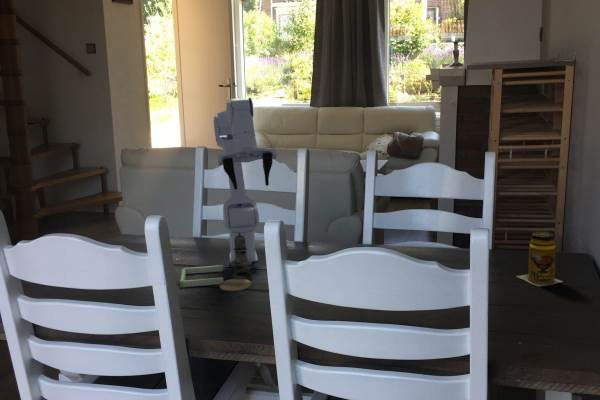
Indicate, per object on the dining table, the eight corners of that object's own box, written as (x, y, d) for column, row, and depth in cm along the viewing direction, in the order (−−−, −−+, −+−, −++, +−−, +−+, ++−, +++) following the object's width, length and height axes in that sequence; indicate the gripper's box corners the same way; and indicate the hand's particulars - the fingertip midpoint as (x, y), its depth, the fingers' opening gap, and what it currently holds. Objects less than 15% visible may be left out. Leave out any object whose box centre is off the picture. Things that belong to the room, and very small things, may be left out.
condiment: (539, 287, 146) (541, 239, 143) (515, 277, 154) (517, 231, 151) (563, 282, 148) (565, 235, 146) (538, 272, 156) (540, 227, 154)
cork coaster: (219, 281, 159) (219, 280, 159) (250, 279, 160) (250, 277, 160) (219, 292, 151) (219, 290, 151) (251, 289, 152) (251, 287, 152)
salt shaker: (249, 279, 160) (246, 235, 158) (228, 278, 161) (225, 235, 159) (255, 272, 166) (253, 229, 163) (234, 271, 167) (232, 229, 165)
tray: (183, 273, 167) (182, 268, 167) (223, 270, 169) (222, 265, 168) (180, 287, 156) (180, 281, 156) (223, 283, 157) (223, 278, 157)
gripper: (214, 133, 149) (220, 181, 143) (273, 126, 151) (281, 173, 145) (216, 148, 155) (222, 195, 149) (272, 142, 157) (280, 187, 151)
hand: (251, 185), depth 147 cm, fingers open, 7 cm apart
